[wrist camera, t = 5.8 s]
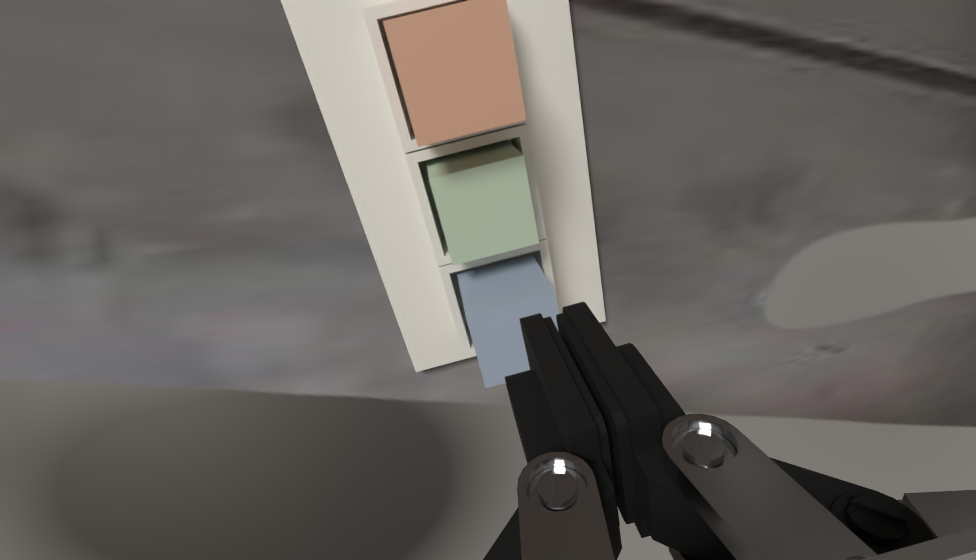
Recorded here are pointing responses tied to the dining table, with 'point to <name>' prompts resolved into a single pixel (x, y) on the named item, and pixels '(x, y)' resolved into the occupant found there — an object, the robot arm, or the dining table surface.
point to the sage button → (483, 201)
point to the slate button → (504, 313)
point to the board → (402, 164)
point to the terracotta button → (457, 69)
